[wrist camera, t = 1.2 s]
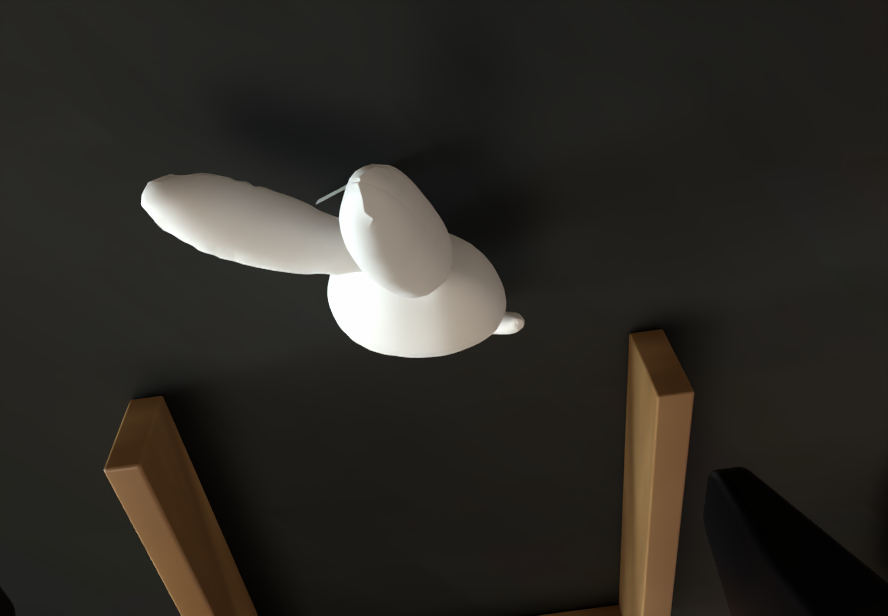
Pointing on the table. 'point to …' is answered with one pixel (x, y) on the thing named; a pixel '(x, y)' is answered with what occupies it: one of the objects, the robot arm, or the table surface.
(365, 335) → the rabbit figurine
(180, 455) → the frame
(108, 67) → the table surface
